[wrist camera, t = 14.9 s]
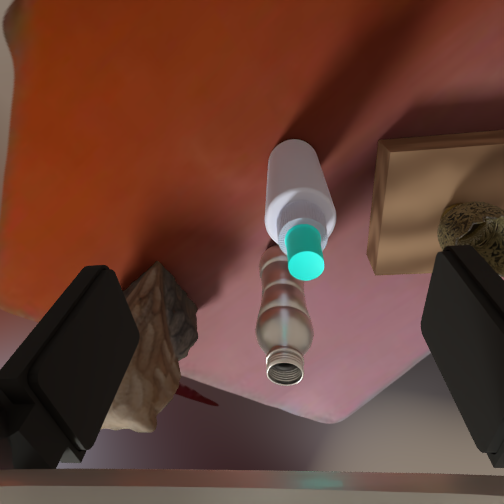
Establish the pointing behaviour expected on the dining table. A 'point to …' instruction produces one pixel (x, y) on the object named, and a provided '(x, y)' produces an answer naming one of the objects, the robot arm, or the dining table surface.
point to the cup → (475, 230)
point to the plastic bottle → (282, 320)
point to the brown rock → (153, 350)
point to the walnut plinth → (428, 193)
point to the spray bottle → (299, 207)
